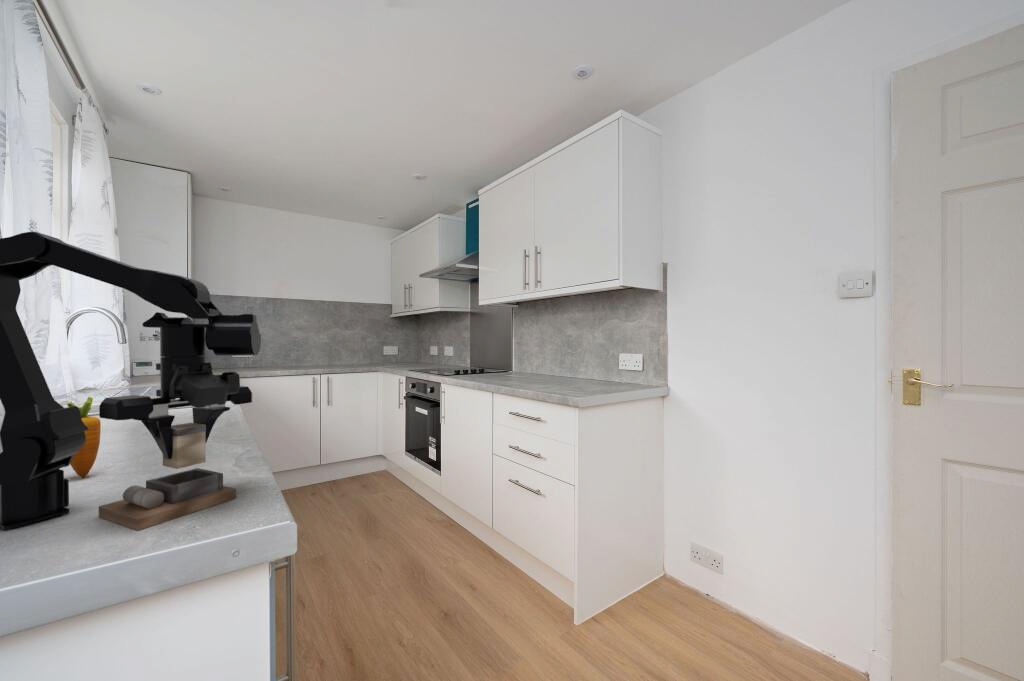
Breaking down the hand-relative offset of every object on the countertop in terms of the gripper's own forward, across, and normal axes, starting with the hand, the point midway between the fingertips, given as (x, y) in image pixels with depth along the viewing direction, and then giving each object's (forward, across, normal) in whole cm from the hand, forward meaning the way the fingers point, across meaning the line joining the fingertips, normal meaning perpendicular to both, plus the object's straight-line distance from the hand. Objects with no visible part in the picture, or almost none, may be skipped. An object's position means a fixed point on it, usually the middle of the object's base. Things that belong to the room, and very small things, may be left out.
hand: (184, 455), depth 68 cm
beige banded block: (+1, 0, 0) cm, 1 cm away
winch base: (+7, -2, 0) cm, 8 cm away
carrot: (+8, -1, +32) cm, 33 cm away
